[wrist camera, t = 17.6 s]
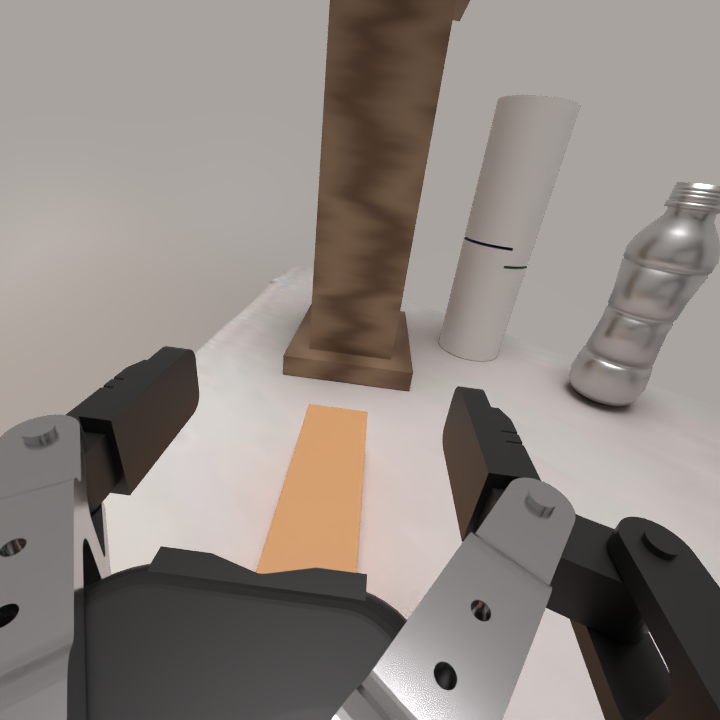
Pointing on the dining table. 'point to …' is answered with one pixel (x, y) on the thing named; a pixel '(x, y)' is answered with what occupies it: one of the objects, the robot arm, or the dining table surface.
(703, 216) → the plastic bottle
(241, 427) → the dining table surface
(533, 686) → the dining table surface
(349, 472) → the orange bar
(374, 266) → the walnut stand
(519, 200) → the cylindrical container
